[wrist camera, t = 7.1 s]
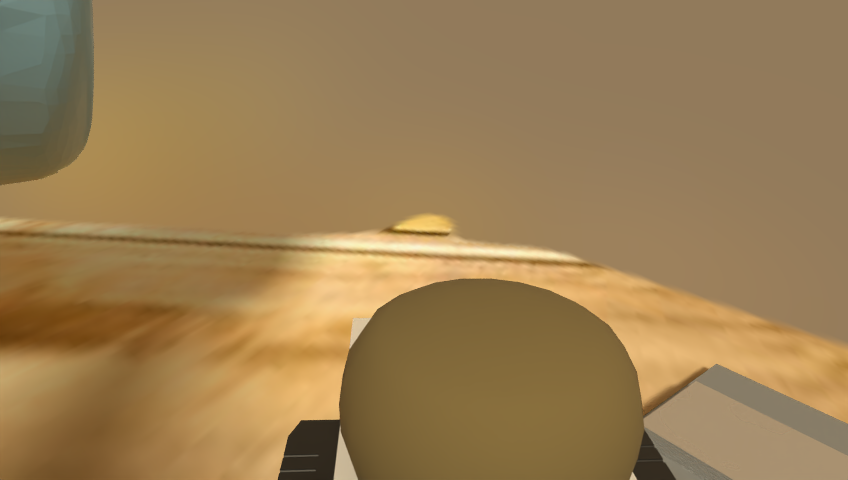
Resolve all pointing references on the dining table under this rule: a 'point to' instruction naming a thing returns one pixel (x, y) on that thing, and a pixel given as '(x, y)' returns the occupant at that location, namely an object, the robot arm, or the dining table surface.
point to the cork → (489, 388)
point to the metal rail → (737, 441)
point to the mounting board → (767, 411)
